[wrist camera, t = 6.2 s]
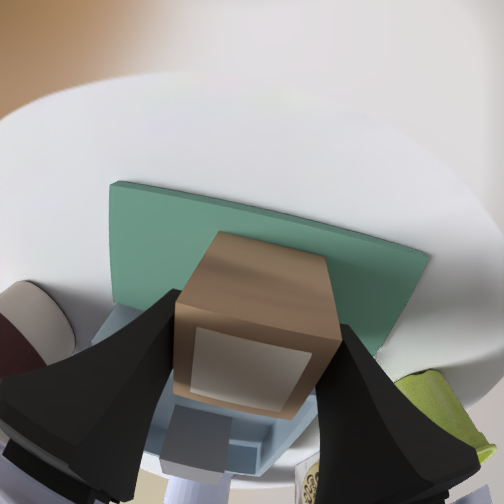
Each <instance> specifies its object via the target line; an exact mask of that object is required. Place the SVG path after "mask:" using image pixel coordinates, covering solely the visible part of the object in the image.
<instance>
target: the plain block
mask: <svg viewBox="0 0 504 504" xmlns="http://www.w3.org/2000/svg"><path fill="white" fill-rule="evenodd" d="M232 418H233V417H228V416H222V415H218V414H213V413H208V412H204V411H199V410H195V409H191V408H187V407H183V406H180V405H176V404H175V407H174V410H173V413H172V417H171V420H170V423H169V427H168V430H167V433H166V437H165V440H164V443H163V447H162V450H161V454H160V457H159V460H160V464H161V468H162V472H163V473H164V474H168V475H172V476H175V477H179V478H183V479H188V480H192V481H196V482H201V483H206V484H212V485H218V484H219V482H220V480H221V478H222V477H223V475H224V472H225V466H226V459H227V452H228V445H229V439H230V432H231V425H232Z"/></svg>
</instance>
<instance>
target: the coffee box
mask: <svg viewBox="0 0 504 504" xmlns="http://www.w3.org/2000/svg"><path fill="white" fill-rule="evenodd" d="M319 458H320V451H319V452H318V453H316V454H315V455H313V456H311V457H310V458H308V459H307V460H305V461H303V462H302V463H300V464H298V465H296V466H295V504H314V502H315V496H316V489H317V482H318V472H319Z"/></svg>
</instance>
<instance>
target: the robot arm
mask: <svg viewBox="0 0 504 504" xmlns="http://www.w3.org/2000/svg"><path fill="white" fill-rule="evenodd" d="M181 292H182V290H178V289H174V288H173V289H171V290H169V291H168V292H167V293H166V294H165V295H164V296H163V297H161V298H160V299H159V300H158V301H157V302H155V303H154V304H153V305H152V306H151V307H149V308H148V309H147V310H146V311H144V312H143V313H142V314H140V315H139V316H138V317H136V318H135V319H134V320H132V321H131V322H130V323H128V324H127V325H125V326H124V327H122V328H121V329H120V330H118V331H117V332H115V333H114V334H112V335H110V336H109V337H107V338H106V339H104V340H102V341H100V342H99V343H97V344H95V345H93V346H92V347H90V348H88V349H86V350H84V351H82V352H79V353H77V354H75V355H73V356H71V357H69V358H66V359H64V360H61V361H59V362H56V363H53V364H50V365H48V366H45V367H42V368H38V369H35V370H31V371H27V372H23V373H19V374H14V375H10V376H4V377H3V378H2V379H1V380H0V429H1V430H2V431H3V432H4V433H5V434H6V435H7V436H8V437H9V438H10V439H9V441H8V443H7V445H6V444H5V443H4V442H2V441H1V440H0V504H109V502H110V501H112V502H114V503H116V504H119V503H120V501H122V502H127V501H130V500H132V499H133V497H134V492H135V487H136V482H137V476H138V472H139V468H140V463H141V459H142V455H143V451H144V447H145V443H146V439H147V436H148V432H149V429H150V425H151V422H152V418H153V415H154V412H155V409H156V406H157V404H158V401H159V399H160V397H161V394H162V392H163V390H164V388H165V385H166V383H167V381H168V378H169V376H170V374H171V372H172V369H173V357H174V324H175V304H176V300H177V299H178V297H179V295H180V294H181ZM339 325H340V331H341V336H342V342H341V344H340V346H339V348H338V349H337V351H336V353H335V354H334V356H333V358H332V360H331V361H330V363H329V365H328V366H327V368H326V369H325V371H324V373H323V374H322V376H321V378H320V379H319V381H318V382H317V384H316V385H315V392H316V401H317V409H318V419H319V428H320V458H319V472H318V482H317V489H316V496H315V502H314V504H445V499H447V498H449V491H448V490H449V489H451V488H452V487H454V486H456V485H458V484H459V483H461V482H463V481H465V480H466V479H468V478H469V477H471V476H472V475H474V474H475V473H476V472H478V471H479V470H480V468H481V465H480V462H479V458H478V455H477V452H476V449H475V448H474V447H472V446H470V445H468V444H467V443H465V442H463V441H461V440H460V439H458V438H456V437H454V436H453V435H451V434H450V433H448V432H447V431H445V430H444V429H443V428H441V427H440V426H439V425H437V424H436V423H435V422H433V421H432V420H431V419H430V418H428V417H427V416H426V415H425V414H424V413H423V412H421V411H420V410H419V409H418V408H417V407H416V406H415V405H414V404H413V403H412V402H411V401H410V400H409V399H408V398H407V397H406V396H405V395H404V394H403V393H402V392H401V391H400V390H399V389H398V388H397V386H396V385H395V384H394V383H393V382H392V380H391V379H390V378H389V377H388V376H387V375H386V373H385V372H384V371H383V370H382V368H381V367H380V366H379V364H378V363H377V362H376V361H375V359H374V358H373V357H372V355H371V354H370V353H369V351H368V350H367V348H366V347H365V346H364V344H363V343H362V342H361V340H360V339H359V338H358V336H357V335H356V334H355V332H354V331H353V330H352V329H351V327H350V326H349V325H347V324H341V323H339ZM233 475H234V474H232V473H226V472H224V475H223V477H222V478H221V480H220V482H219V484H218V485H212V484H206V483H201V482H196V481H192V480H188V479H183V478H179V477H175V476H172V475H170V478H169V482H168V486H167V490H166V494H165V498H164V502H163V504H228V498H229V491H230V484H231V478H232V477H233ZM451 504H492V500H491V496H490V492H489V487H488V485H485V486H483V487H481V488H479V489H477V490H476V491H474V492H471V493H470V494H468V495H466V496H464V497H462V498H460V499H458V500H456V501H455V502H453V503H451Z"/></svg>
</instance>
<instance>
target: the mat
mask: <svg viewBox="0 0 504 504" xmlns="http://www.w3.org/2000/svg"><path fill="white" fill-rule="evenodd" d="M218 231H222V232H226V233H230V234H234V235H239V236H243V237H247V238H251V239H255V240H259V241H263V242H267V243H271V244H276V245H280V246H284V247H288V248H292V249H296V250H300V251H304V252H308V253H312V254H316V255H320V256H324V257H325V261H326V265H327V269H328V274H329V278H330V282H331V287H332V291H333V296H334V301H335V305H336V310H337V315H338V320H339V323H341V324H347V325H349V326H350V327H351V329H352V330H353V331H354V332H355V334H356V335H357V336H358V338H359V339H360V340H361V342H362V343H363V344H364V346H365V347H366V348H367V350H368V351H369V353H370V354H371V355H372V356H374V355H375V354H376V352H377V351H378V349H379V348H380V346H381V345H382V343H383V342H384V340H385V339H386V337H387V335H388V334H389V332H390V331H391V329H392V327H393V326H394V324H395V322H396V321H397V319H398V317H399V316H400V314H401V312H402V310H403V309H404V307H405V305H406V303H407V302H408V300H409V298H410V296H411V294H412V292H413V290H414V289H415V287H416V285H417V283H418V281H419V279H420V277H421V275H422V273H423V271H424V269H425V267H426V265H427V262H428V260H429V258H428V257H427V256H426V255H425V254H424V253H423V252H422V251H419V250H416V249H412V248H409V247H406V246H402V245H399V244H396V243H392V242H389V241H385V240H382V239H378V238H375V237H371V236H368V235H364V234H360V233H357V232H353V231H349V230H346V229H342V228H338V227H334V226H331V225H327V224H323V223H319V222H315V221H311V220H307V219H303V218H299V217H295V216H291V215H287V214H282V213H278V212H274V211H270V210H265V209H261V208H256V207H252V206H247V205H243V204H238V203H234V202H229V201H224V200H220V199H215V198H210V197H205V196H200V195H195V194H190V193H185V192H180V191H174V190H169V189H163V188H158V187H152V186H147V185H141V184H135V183H129V182H123V181H117V182H115V183H113V184H111V185H110V190H109V247H110V267H111V281H112V292H113V301H114V302H117V303H120V304H123V305H126V306H129V307H132V308H136V309H139V310H142V311H146V310H147V309H148V308H149V307H151V306H152V305H153V304H154V303H155V302H157V301H158V300H159V299H160V298H161V297H163V296H164V295H165V294H166V293H167V292H168V291H169V290H171V289H173V288H174V289H178V290H183V289H184V287H185V285H186V283H187V282H188V280H189V278H190V277H191V275H192V273H193V272H194V270H195V268H196V267H197V265H198V264H199V262H200V260H201V259H202V257H203V255H204V254H205V252H206V250H207V249H208V247H209V246H210V244H211V242H212V241H213V239H214V238H215V236H216V234H217V233H218Z"/></svg>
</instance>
